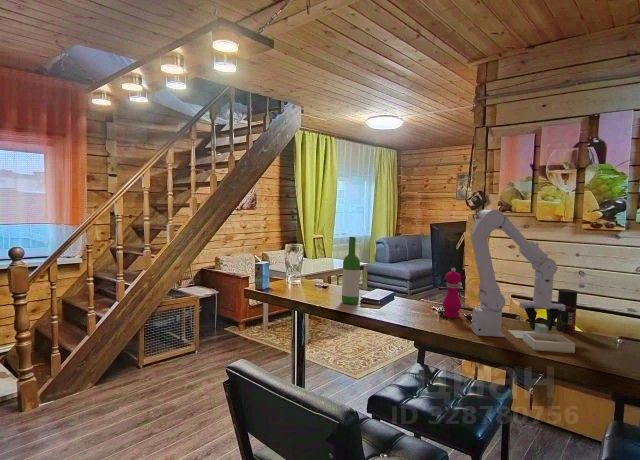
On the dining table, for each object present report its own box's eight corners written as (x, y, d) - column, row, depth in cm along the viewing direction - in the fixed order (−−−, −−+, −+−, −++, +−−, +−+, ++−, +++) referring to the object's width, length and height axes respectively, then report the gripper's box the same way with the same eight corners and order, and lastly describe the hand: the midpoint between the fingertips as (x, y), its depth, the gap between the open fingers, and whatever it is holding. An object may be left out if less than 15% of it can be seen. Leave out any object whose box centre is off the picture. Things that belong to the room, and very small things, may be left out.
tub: (534, 350, 127) (534, 341, 126) (523, 341, 136) (523, 332, 135) (574, 353, 125) (575, 343, 125) (560, 343, 134) (561, 334, 134)
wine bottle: (338, 302, 183) (340, 236, 182) (350, 300, 188) (353, 236, 186) (349, 305, 177) (351, 237, 175) (362, 303, 182) (364, 237, 180)
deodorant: (566, 333, 146) (568, 292, 145) (552, 328, 152) (554, 289, 151) (578, 332, 148) (581, 292, 147) (564, 327, 153) (567, 288, 152)
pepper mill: (461, 319, 161) (464, 269, 160) (442, 317, 162) (445, 268, 161) (459, 314, 168) (461, 267, 167) (441, 313, 169) (443, 266, 168)
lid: (516, 339, 139) (516, 327, 138) (507, 331, 147) (508, 320, 147) (551, 341, 137) (552, 329, 137) (541, 333, 146) (541, 322, 146)
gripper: (525, 292, 138) (523, 331, 139) (570, 294, 136) (568, 334, 137) (518, 288, 145) (515, 325, 146) (560, 290, 143) (558, 328, 144)
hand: (540, 329), depth 142 cm, fingers open, 5 cm apart
